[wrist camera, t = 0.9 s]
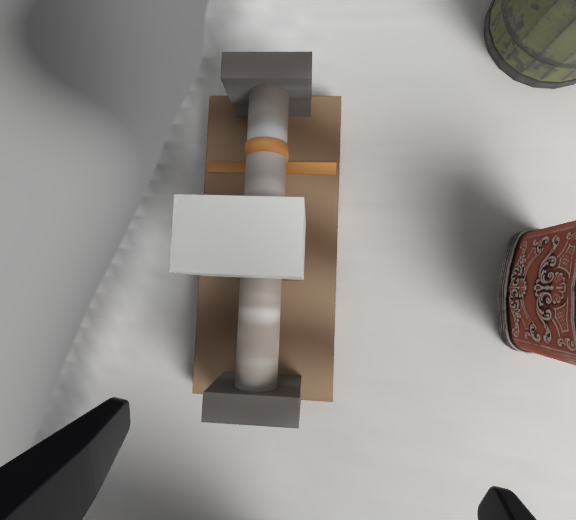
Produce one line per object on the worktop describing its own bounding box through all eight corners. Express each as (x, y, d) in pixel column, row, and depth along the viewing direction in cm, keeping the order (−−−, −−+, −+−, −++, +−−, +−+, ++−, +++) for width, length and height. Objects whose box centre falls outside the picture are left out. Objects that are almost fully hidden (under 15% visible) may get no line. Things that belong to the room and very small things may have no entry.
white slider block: (304, 281, 22) (301, 277, 13) (227, 278, 23) (169, 271, 13) (306, 234, 23) (304, 197, 13) (229, 232, 23) (174, 194, 14)
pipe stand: (331, 394, 24) (338, 430, 18) (199, 386, 24) (163, 419, 18) (339, 107, 25) (348, 51, 19) (215, 106, 26) (186, 52, 20)
